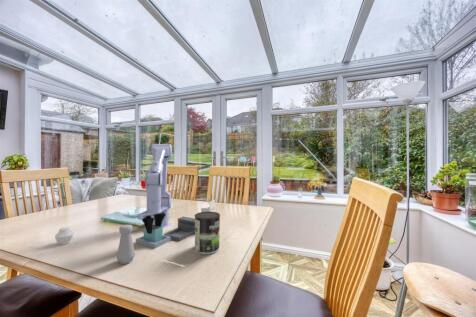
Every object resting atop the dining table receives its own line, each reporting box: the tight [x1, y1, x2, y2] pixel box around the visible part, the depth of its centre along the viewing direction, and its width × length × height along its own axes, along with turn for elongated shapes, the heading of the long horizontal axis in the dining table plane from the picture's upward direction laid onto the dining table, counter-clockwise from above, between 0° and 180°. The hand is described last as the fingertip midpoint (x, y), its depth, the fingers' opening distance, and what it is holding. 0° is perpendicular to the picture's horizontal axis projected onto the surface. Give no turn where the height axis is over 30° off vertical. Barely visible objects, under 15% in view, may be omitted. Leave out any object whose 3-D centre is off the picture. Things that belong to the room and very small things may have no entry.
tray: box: [135, 234, 172, 249], centre depth 91 cm, size 12×9×2 cm
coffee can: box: [194, 211, 221, 255], centre depth 86 cm, size 10×10×14 cm
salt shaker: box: [116, 224, 136, 265], centre depth 75 cm, size 6×6×13 cm
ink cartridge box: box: [200, 198, 216, 212], centre depth 109 cm, size 9×5×15 cm, turn 168°
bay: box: [163, 216, 195, 242], centre depth 100 cm, size 12×15×6 cm
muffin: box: [54, 226, 74, 246], centre depth 89 cm, size 6×6×7 cm
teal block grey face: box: [143, 225, 163, 243], centre depth 91 cm, size 4×7×6 cm, turn 64°
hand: (153, 231), depth 91 cm, fingers closed on teal block grey face, 4 cm apart
